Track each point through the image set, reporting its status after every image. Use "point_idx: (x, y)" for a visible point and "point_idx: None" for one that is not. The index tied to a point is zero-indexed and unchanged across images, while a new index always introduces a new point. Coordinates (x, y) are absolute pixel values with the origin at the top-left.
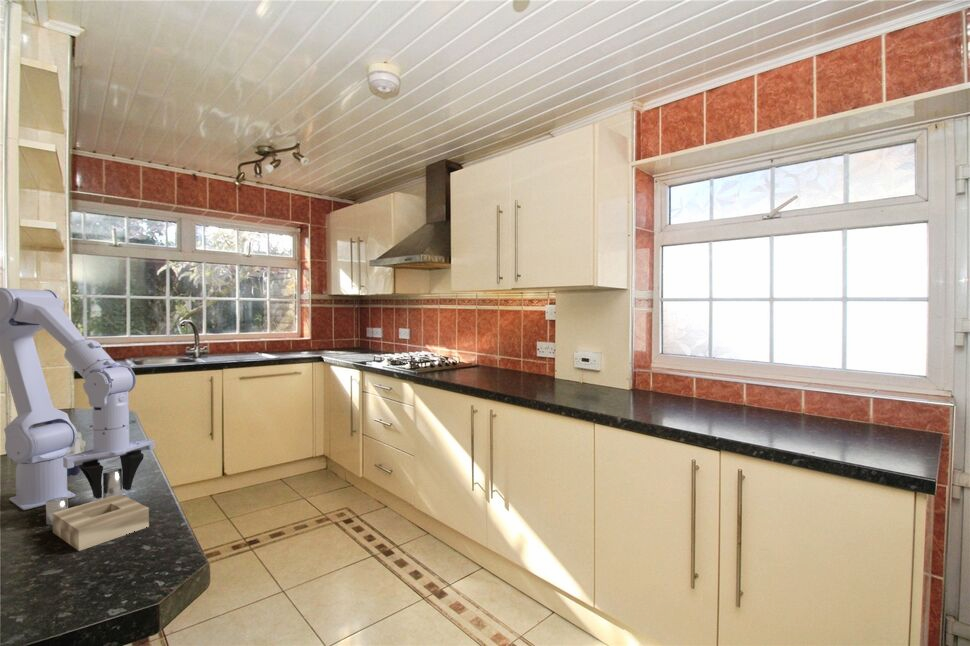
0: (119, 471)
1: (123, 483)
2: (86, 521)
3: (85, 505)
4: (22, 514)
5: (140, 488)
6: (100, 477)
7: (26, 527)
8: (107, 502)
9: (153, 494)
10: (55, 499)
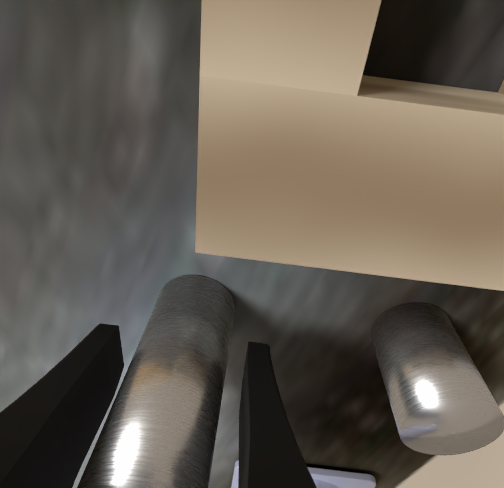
0: (100, 476)
1: (109, 388)
2: None
3: (452, 245)
4: (393, 457)
5: (50, 367)
6: (259, 477)
7: (484, 367)
8: (355, 147)
9: (18, 263)
10: (442, 441)
